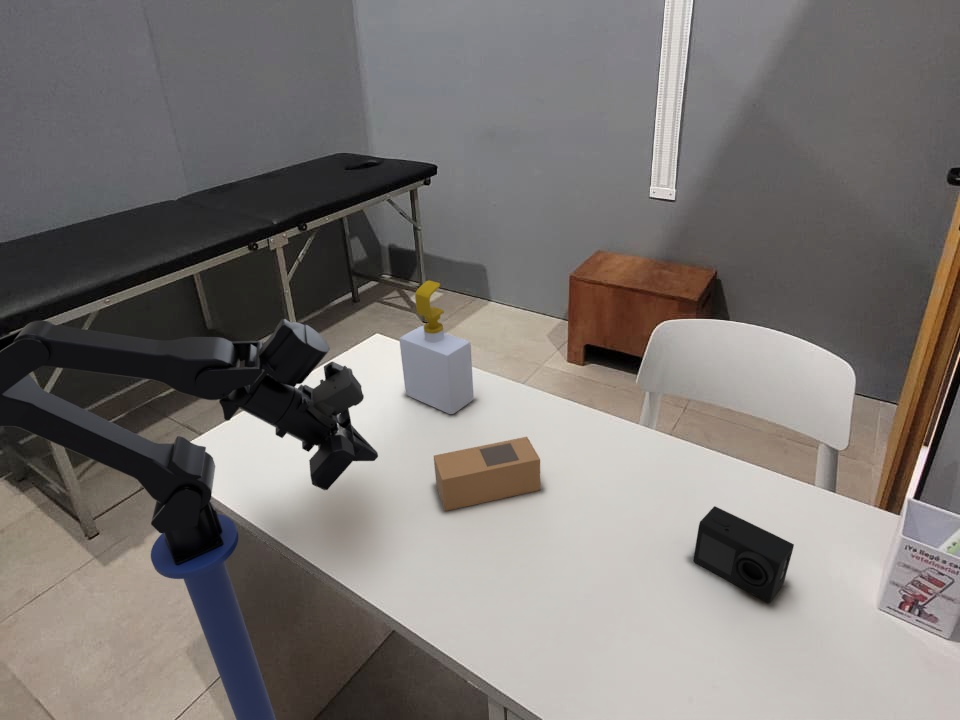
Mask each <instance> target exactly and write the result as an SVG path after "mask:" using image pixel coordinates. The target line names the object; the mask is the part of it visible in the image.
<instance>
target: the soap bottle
mask: <svg viewBox="0 0 960 720" xmlns="http://www.w3.org/2000/svg"><path fill="white" fill-rule="evenodd" d="M440 287H441V283H439V282H437V281H433V280H430V279H429V280H426V281H425V282H424V283H423V284H421V286H419V287H418V288H417V289H416V291H415V295H414V299H415V309H416V313H417V314H418V315H420V316H423V317H424V320H425V321H427V323H425V324H424V325H421V326H418V327H416V328H415V329H413V330H411V331H409V332H407V333H405V334H403V335H401V336H400V337H399V350H400V356H401V365H402V374H403V375H402V376H403V382H404V392H405V394H406V396H408V397H409V398H412V399H415V400H417V401H419V402H421V403H423V404H426V405H428V406H431V407H434V408H435V409H437V410H440V411H441V412H444V413H446V414H448V415H454V414H455V413H458V412H459V411H460V410H461V409H463V408H464V407H466V406H467V405H468V404H470V403H471V402H473V400H474V381H473V380H474V379H473V361H472V345H471V342H470V341H469V340H467V339H464V338H461V337H458V336H455V335H453V334H450V333H446V332H444V324H443V323H441V322H439V320H440V319H441V315H443V314H444V313H445V310H444V309H442V308H439V307H436V306H431V297H432V295H433V294H434V293H435V292H436V291H437V290H438V289H439V288H440Z"/></svg>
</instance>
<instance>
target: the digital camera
mask: <svg viewBox="0 0 960 720" xmlns="http://www.w3.org/2000/svg"><path fill="white" fill-rule="evenodd" d="M695 541H696V542H695V548H694V553H693V559H692V561H693V562H694V563H696V564H697V565H699V566H701V567H703V568H705V569H706V570H708V571H710V572H711V573H714V574H715V575H717V576H719V577H721V578H722V579H724V580H726V581H728V582H729V583H732V584H733V585H735V586H737V587H739V588H740V589H743V590H744V591H746V592H748V593H750V594H751V595H754V596H755V597H757V598H759V599H760V600H763V601H764V602H766V603H768V604H771V602H772V601H773V599H774V598H775V596H776V595H777V594H778V592H779V590H781V588H782V586H783V585H784V584H785V579H786V577H787V573H788V569H789V565H790V562H791V559H792V555H793V551H794V546H795V544H794V543H792V542H790V541H788V540H786V539H784V538H782V537H780V536H778V535H776V534H774V533H771V532H770V531H767V530H765V529H764V528H762V527H759V526H757V525H755V524H753V523H751V522H749V521H747V520H745V519H743V518H742V517H741V518H740V517H739V516H737V515H736V514H735V515H734V514H733V513H731V512H728V511H726V510H724V509H722V508H719V507H718V506H716V505H714V506H713V507H712V508H711V509H710V510H709V511H708V512H707V514H706V515H704V516H703V518H702V519H701V520H700V521H699V524H698V528H697V535H696V540H695Z"/></svg>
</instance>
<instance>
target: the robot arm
mask: <svg viewBox="0 0 960 720" xmlns="http://www.w3.org/2000/svg"><path fill="white" fill-rule="evenodd" d="M330 350H331V347H330V345H329V343H328V342H327V340H326V339H325V338H324V337H323V336H322V335H321V334H320V333H319V332H318V331H316V330H315V329H314V328H312V327H311V326H310V325H308V324H302V323H300V322H295V321H293V322H290V321H289V320H288V319H286V318H282V319H281V320H280V321H279V323H278V324H277V325H276V327H275V329H274V331H273V332H272V333H271V335H270V336H269V337H268V338H267V340H266V341H265V342H263V341H261V340H240V341H239V340H238V341H230V340H228V339H226V338H224V337H217V336H188V337H182V338H178V339H173V340H159V339H158V340H157V339H151V338H145V337H138V336H132V335H131V336H130V335H124V334H118V333H112V332H105V331H97V330H92V329H85V328H78V327H73V326H66V325H65V326H64V325H59V324H55V323H53V322H51V321H48V320H34V321H31V322H29V323H27V324H26V325H24V327H22V328H20V329H18V330H16V331H14V332H11V333H8V334H6V335H3V336H2V337H0V427H13V428H14V427H15V428H18V429H20V430H23V431H26V432H28V433H30V434H32V435H35V436H37V437H39V438H42V439H44V440H47V441H48V442H51V443H53V444H54V445H57V446H60V447H62V448H65V449H67V450H69V451H72V452H74V453H76V454H78V455H80V456H83V457H85V458H88V459H90V460H92V461H94V462H97V463H99V464H102V465H103V466H106V467H108V468H110V469H113V470H115V471H118V472H120V473H122V474H125V475H127V476H129V477H131V478H132V479H135V480H136V481H137V482H138V483H139V484H140V486H142V487H143V489H144V490H145V491H146V493H148V494H149V496H150V497H151V498H152V499H153V500H154V501H155V505H154V509H153V513H152V518H151V522H150V525H151V526H152V527H153V528H154V529H155V530H156V531H157V532H158V533H159V534H162V533H164V535H165V541H166V543H167V546H168V548H169V551H170V553H171V556H172V558H173V561H174V563H175V565H177V566H178V565H181V564H183V563H185V562H187V561H190V560H192V559H194V558H196V557H198V556H201V555H203V554H205V553H207V552H210V551H212V550H214V549H216V548H218V547H221V546H222V545H223V544H224V542H223V539H222V537H221V535H220V534H221V533H222V532H223V530H222V527H221V524H220V521H219V518H218V514H219V513H218V512H217V509H216V508H215V506H214V504H213V501H211V499H212V494H213V486H214V480H215V472H216V471H215V470H216V463H215V460H214V457H213V456H212V455H211V454H210V453H208V452H207V446H203V445H198V444H195V443H193V442H191V441H190V440H188V439H187V438H185V437H183V436H180V435H177V436H176V438H175V440H174V441H173V443H158V442H155V441H153V440H150V439H148V438H146V437H144V436H142V435H139V434H137V433H135V432H133V431H130V430H129V429H127V428H124V427H122V426H120V425H118V424H116V423H115V422H112V421H109V420H108V419H105V418H103V417H101V416H99V415H98V414H95V413H93V412H91V411H88V410H86V409H84V408H82V407H80V406H78V405H75V404H74V403H72V402H69V401H67V400H65V399H63V398H61V397H59V396H57V395H54V394H53V393H50V392H48V391H47V390H44V389H43V388H42V387H40V385H39V384H38V383H37V381H36V380H35V379H34V378H33V376H31V375H30V374H31V373H33V372H35V371H36V370H38V369H40V368H41V367H49V368H56V369H65V370H70V371H71V370H73V371H79V372H86V373H87V372H88V373H95V374H101V375H102V374H104V375H110V376H117V377H118V376H119V377H127V378H134V379H142V380H149V381H155V382H158V383H162V384H164V385H166V386H167V387H169V388H171V389H172V390H173V391H176V392H178V393H180V394H183V395H187V396H191V397H193V398H194V397H195V398H198V399H202V400H206V401H218V403H219V404H220V407H221V408H222V413H223V419H224V420H225V421H230V420H231V419H232V418H233V417H234V415H236V413H237V412H238V410H239V409H240V410H241V411H243V412H245V413H247V414H249V415H251V416H253V417H254V418H256V419H258V420H260V421H262V422H264V423H266V424H268V425H270V426H271V427H274V428H275V436H277V437H279V438H281V439H283V438H284V437H285V436H286V435H288V436H291V437H292V438H294V439H297V440H298V441H300V442H301V449H302V450H304V451H305V452H308V453H309V452H310V451H311V450H312V449H313V448H314V447H315V446H316V447H317V451H316V452H314V454H313V455H312V456H311V457H310V459H309V460H308V462H309V475H310V481H311V485H313V486H314V487H316V488H319V489H321V490H322V491H328V490H329V489H330V488H331V487H332V486H333V484H334V483H335V482H336V481H337V480H338V479H339V478H340V477H341V476H342V474H343V473H344V472H345V471H346V470H347V469H348V467H350V466H351V464H352V463H353V462H375V461H376V460H377V459H378V458H379V453H378V451H377V450H376V449H375V448H374V447H373V446H372V445H371V444H370V443H369V442H368V441H367V440H366V438H364V437H363V435H361V434H360V432H359V431H358V430H357V429H356V428H355V427H354V426H353V424H352V420H351V415H350V410H349V409H350V408H352V407H353V406H355V407H356V406H357V405H360V404H361V403H362V402H363V400H364V399H365V398H364V397H365V395H364V393H363V390H362V384H361V383H360V382H359V380H358V379H357V377H356V376H355V375H354V374H353V373H354V372H353V368H351V367H347V366H346V365H341V364H339V363H337V362H335V361H329V363H327V364H325V365H324V366H323V371H324V372H323V373H324V379H320V380H319V382H320V383H319V384H318V385H317V386H315V387H311V386H309V385H307V384H302V383H304V382H305V381H306V379H307V378H308V377H309V376H310V375H311V373H312V372H313V371H314V370H315V369H316V367H317V366H318V365H319V364H320V362H322V360H323V359H324V358H325V356H327V354H328V353H329V352H330ZM243 361H244V364H243V365H244V366H241V365H240V363H241V362H243ZM240 366H241V367H240ZM298 385H299V386H298ZM296 386H298V387H296ZM178 561H179V562H178Z"/></svg>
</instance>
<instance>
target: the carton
mask: <svg viewBox="0 0 960 720" xmlns="http://www.w3.org/2000/svg"><path fill="white" fill-rule="evenodd" d="M433 467H434V474H435V485H436V489H437V492H438V495H439V498H440V501H441V504H442V506H443V507H442V508H443V509H444V512H447V511H452V510H457V509H461V508H465V507H470V506H474V505H478V504H484V503H488V502H493V501H497V500H501V499H506V498H511V497H515V496H520V495H525V494H529V493H533V492H538V491H540V490H541V457H540V456H539V455H538V453H537V451H536V449H535V448H534V445H533V444H532V442H531V441H530V439H529V437H528V436H523V437H518V438H512V439H508V440H504V441H498V442H493V443H487V444H483V445H479V446H473V447H468V448H464V449H459V450H453V451H449V452H444V453H439V454H435V455H433Z"/></svg>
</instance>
